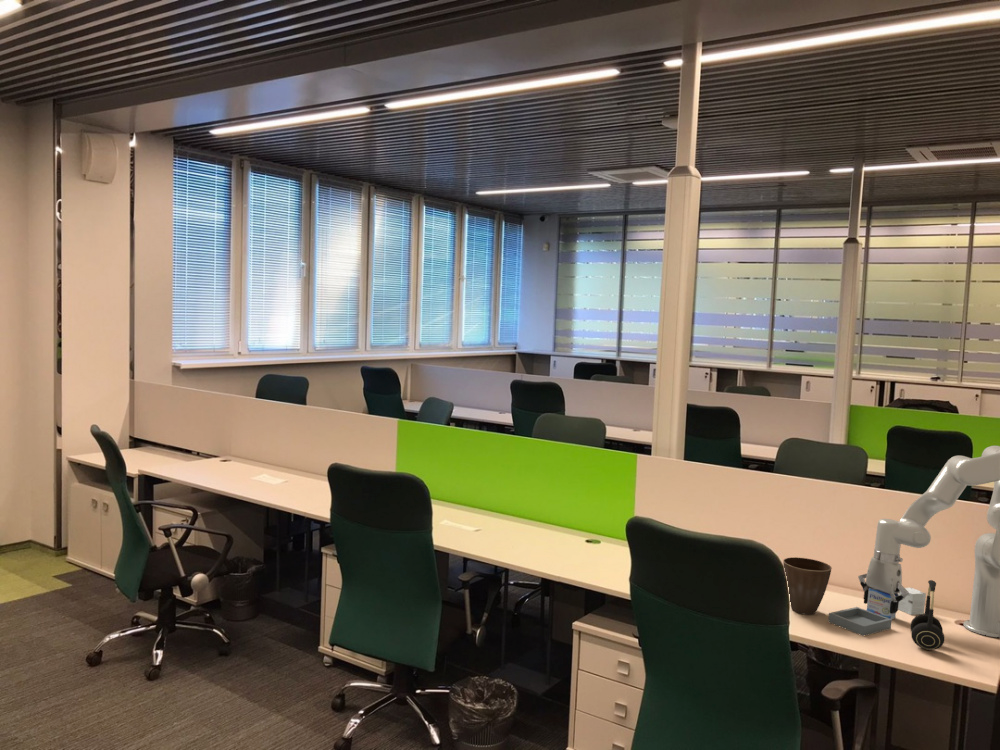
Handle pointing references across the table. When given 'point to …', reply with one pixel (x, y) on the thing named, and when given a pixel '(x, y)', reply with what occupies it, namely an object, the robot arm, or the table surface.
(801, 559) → the plant pot
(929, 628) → the headphones
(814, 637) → the table surface
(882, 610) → the medicine box
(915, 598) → the skincare box
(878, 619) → the desk tray
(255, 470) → the table surface
